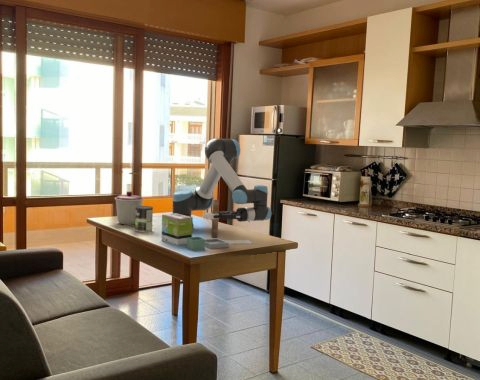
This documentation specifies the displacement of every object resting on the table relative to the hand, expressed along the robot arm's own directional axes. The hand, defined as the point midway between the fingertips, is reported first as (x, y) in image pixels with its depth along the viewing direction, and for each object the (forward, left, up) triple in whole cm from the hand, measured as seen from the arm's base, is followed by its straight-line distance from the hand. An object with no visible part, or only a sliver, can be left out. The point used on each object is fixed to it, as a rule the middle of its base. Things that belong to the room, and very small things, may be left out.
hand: (205, 216), depth 243 cm
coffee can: (-52, -16, -16) cm, 57 cm away
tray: (0, +5, -16) cm, 17 cm away
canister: (-76, -18, -16) cm, 80 cm away
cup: (+3, -7, -16) cm, 18 cm away
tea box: (-15, -10, -16) cm, 24 cm away
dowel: (0, +5, -12) cm, 13 cm away
